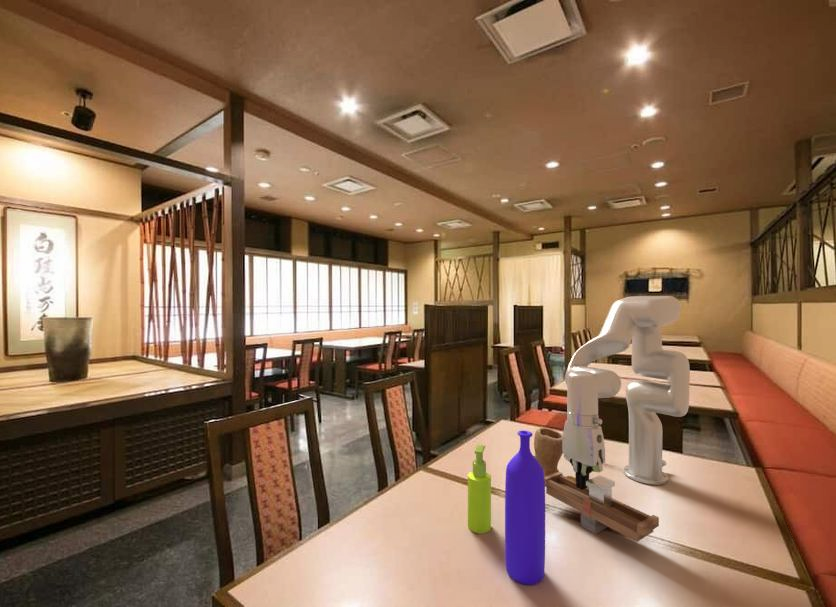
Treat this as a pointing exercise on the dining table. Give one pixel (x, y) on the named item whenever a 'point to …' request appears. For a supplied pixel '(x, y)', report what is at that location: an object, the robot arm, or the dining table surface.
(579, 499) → the beam
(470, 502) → the soap dispenser
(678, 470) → the dining table surface
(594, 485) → the rider
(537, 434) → the stone cup
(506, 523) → the bottle
